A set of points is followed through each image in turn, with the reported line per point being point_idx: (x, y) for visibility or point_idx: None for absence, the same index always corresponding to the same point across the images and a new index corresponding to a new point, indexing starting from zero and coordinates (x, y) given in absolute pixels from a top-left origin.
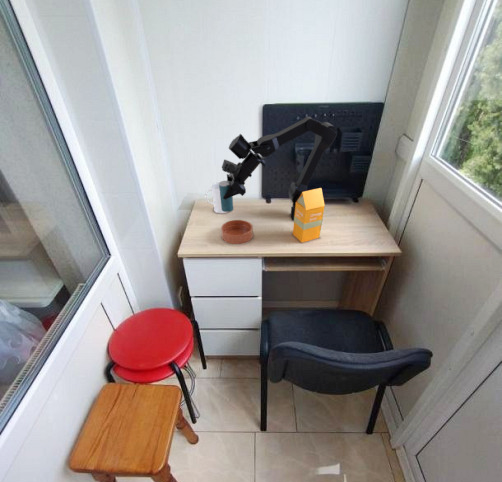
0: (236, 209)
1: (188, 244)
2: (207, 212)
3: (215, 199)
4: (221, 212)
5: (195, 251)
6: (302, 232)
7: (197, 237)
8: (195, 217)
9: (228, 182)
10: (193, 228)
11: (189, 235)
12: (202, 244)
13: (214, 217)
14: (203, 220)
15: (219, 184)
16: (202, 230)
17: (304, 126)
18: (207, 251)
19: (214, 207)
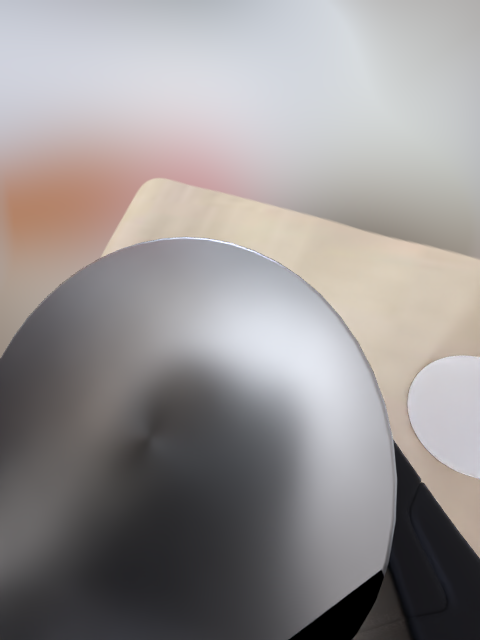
0: (444, 510)
1: (182, 191)
2: (453, 314)
3: None
4: (412, 389)
5: (131, 208)
6: None
7: (213, 225)
8: (406, 243)
9: (119, 591)
10: (293, 220)
11: (242, 200)
12: (158, 235)
13: (371, 335)
14: (356, 274)
15: (179, 244)
16: (259, 252)
17: None
18: (111, 243)
19: (473, 357)
